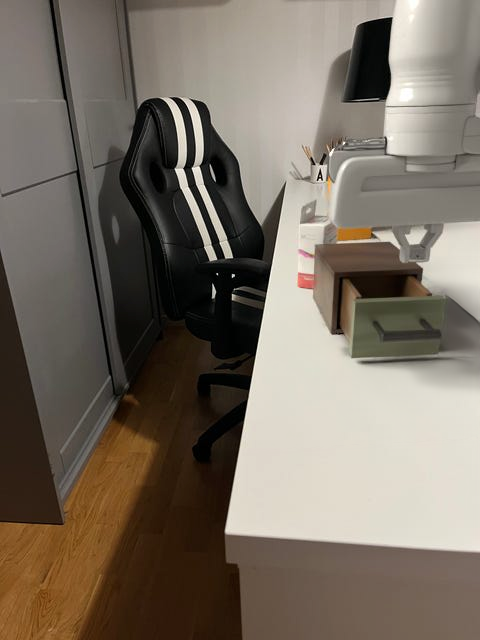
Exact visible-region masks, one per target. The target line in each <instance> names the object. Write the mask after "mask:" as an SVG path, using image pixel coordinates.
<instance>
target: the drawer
mask: <svg viewBox="0 0 480 640" xmlns="http://www.w3.org/2000/svg"><path fill="white" fill-rule="evenodd" d="M446 303H447V298H446V297H445V296H444V295H433V292H431V290H430V289H428V288H427V287H426V286H425V285H423V284H422V283H420V282H419V281H418V280H417V279H416V278H414V277H413V276H412V275H411V274H406V275H381V276H356V277H339V295H338V312H337V321H338V323H339V325H340V327H341V329H342V330H343V332H344V334H343V335H344V336H345V337H346V339H347V341H348V343H349V353H348V355H349V357H350V358H351V359H366V358H368V359H369V358H389V357H391V358H392V357H409V356H411V357H412V356H432V355H438V354H439V349H440V343H441V340H442V335H443V334H442V330H443V323H444V319H445V318H444V317H445V310H446Z"/></svg>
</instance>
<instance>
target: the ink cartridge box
mask: <svg viewBox="0 0 480 640" xmlns="http://www.w3.org/2000/svg"><path fill="white" fill-rule="evenodd" d="M316 207H317V199H314V200H312V201H310V202H308V203H306V204H304V205H301V207H300V214H299V222H298V245H297V246H298V247H297V248H298V250H297V256H298V257H297V287H299V288H306V289H312V290H313V281H314V254H315V244H337V243H338V241H337V231H338V228H337V227H336V226H335V225H334V224H332V222H331V221H330V220H329V218H328V216H327V215H318V214H317V215H316V210H317V208H316ZM308 210H310V211H308ZM307 211H308V212H307Z"/></svg>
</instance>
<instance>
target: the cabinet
mask: <svg viewBox="0 0 480 640" xmlns="http://www.w3.org/2000/svg"><path fill="white" fill-rule="evenodd" d="M338 243H339V244H315V254H314V281H313V289H312V299H313V301H314V303H315V305H316V307H317V309H318V311H319V313H320V315H321V317H322V319H323V322H324V323H325V325H326V327H327V329H328V331H329V333H330V335H340V334H339V333H344V332H343V330H342V329H341V327H340V325H339V323H338V321H337V312H338V295H339V277H356V276H381V275H406V274H411V275H412V276H413V277H414V278H416V279H417V280H418V281H419V282H420V283H421V284H422V282H423V274H424V267H422V266H421V265H420V264H418V262H413V263H402V262H401V261H400V258H399V254H400V248H398V247H397V246H396V245H395V244H394V243H392V242H391V241H371V242H370V241H367V242H365V241H364V242H338ZM336 333H337V334H336Z"/></svg>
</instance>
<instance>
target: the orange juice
mask: <svg viewBox="0 0 480 640" xmlns="http://www.w3.org/2000/svg"><path fill="white" fill-rule="evenodd" d="M327 176H328V175H327ZM330 185H331V180H330V178H329V176H328V178H327V201H326V209H327V208H328V198H329V191H330ZM371 237H372V227H369V228H351V229H339V228H338V231H337V242H344V241H355V240H368V239H369V240H370V239H371Z"/></svg>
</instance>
